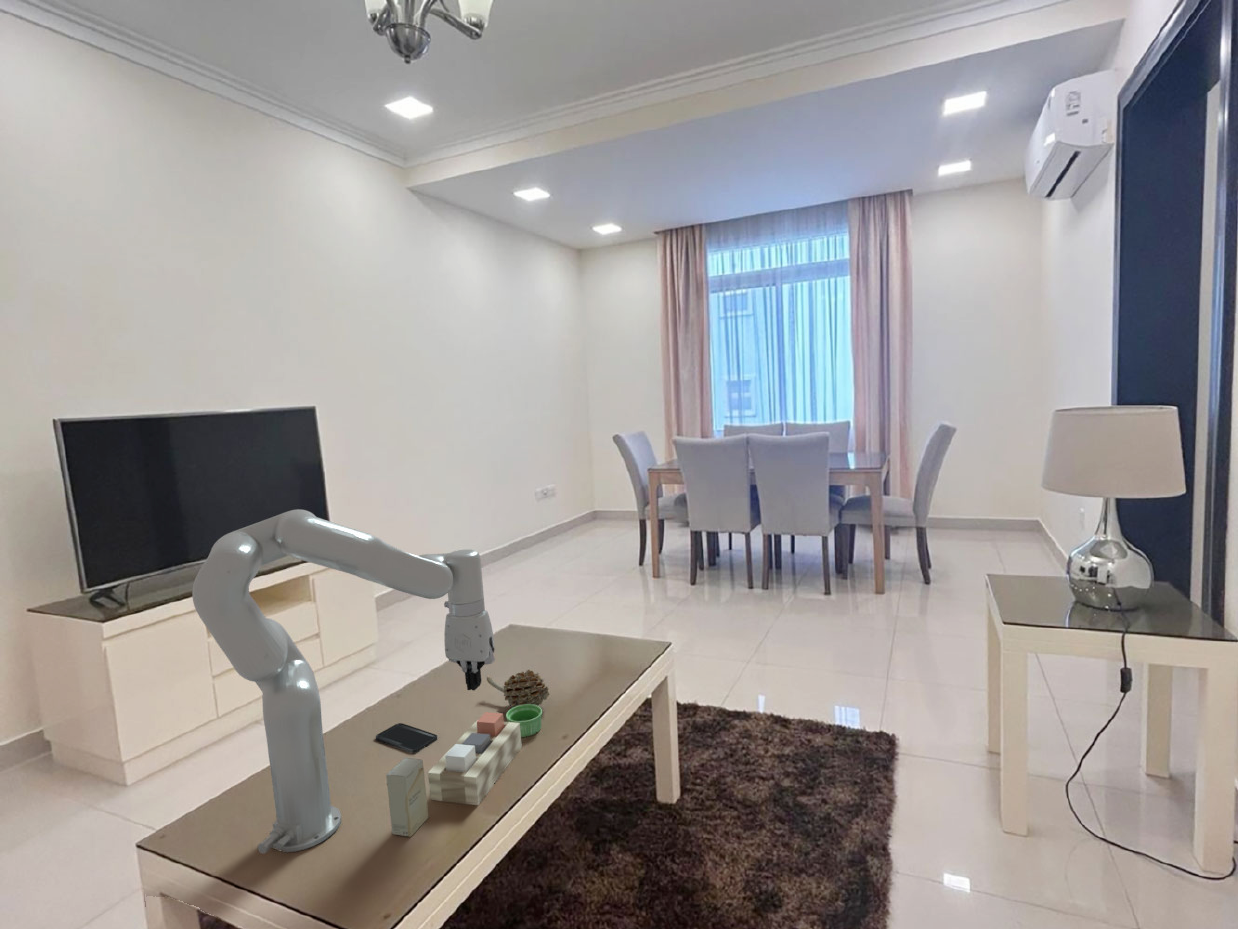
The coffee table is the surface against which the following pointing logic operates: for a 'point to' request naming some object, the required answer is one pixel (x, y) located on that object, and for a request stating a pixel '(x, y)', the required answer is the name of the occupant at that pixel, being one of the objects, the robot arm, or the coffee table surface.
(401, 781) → the skincare box
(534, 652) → the coffee table surface
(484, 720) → the brick key
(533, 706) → the ramekin
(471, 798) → the wooden compartment tray
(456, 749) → the white key
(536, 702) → the pine cone
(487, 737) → the grey rectangular block
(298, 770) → the robot arm
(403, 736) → the phone
